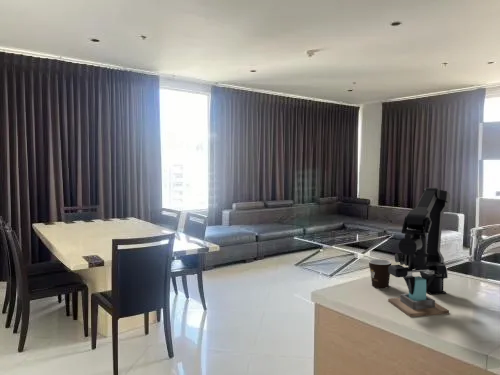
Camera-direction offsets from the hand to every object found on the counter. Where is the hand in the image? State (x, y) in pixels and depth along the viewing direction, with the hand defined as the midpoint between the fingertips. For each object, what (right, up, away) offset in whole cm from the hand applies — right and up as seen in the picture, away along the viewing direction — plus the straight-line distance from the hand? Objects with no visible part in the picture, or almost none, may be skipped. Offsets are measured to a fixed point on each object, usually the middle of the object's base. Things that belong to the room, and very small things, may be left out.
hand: (417, 293), depth 130 cm
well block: (0, -5, 0) cm, 5 cm away
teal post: (0, -3, 0) cm, 3 cm away
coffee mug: (-4, -4, +25) cm, 26 cm away
